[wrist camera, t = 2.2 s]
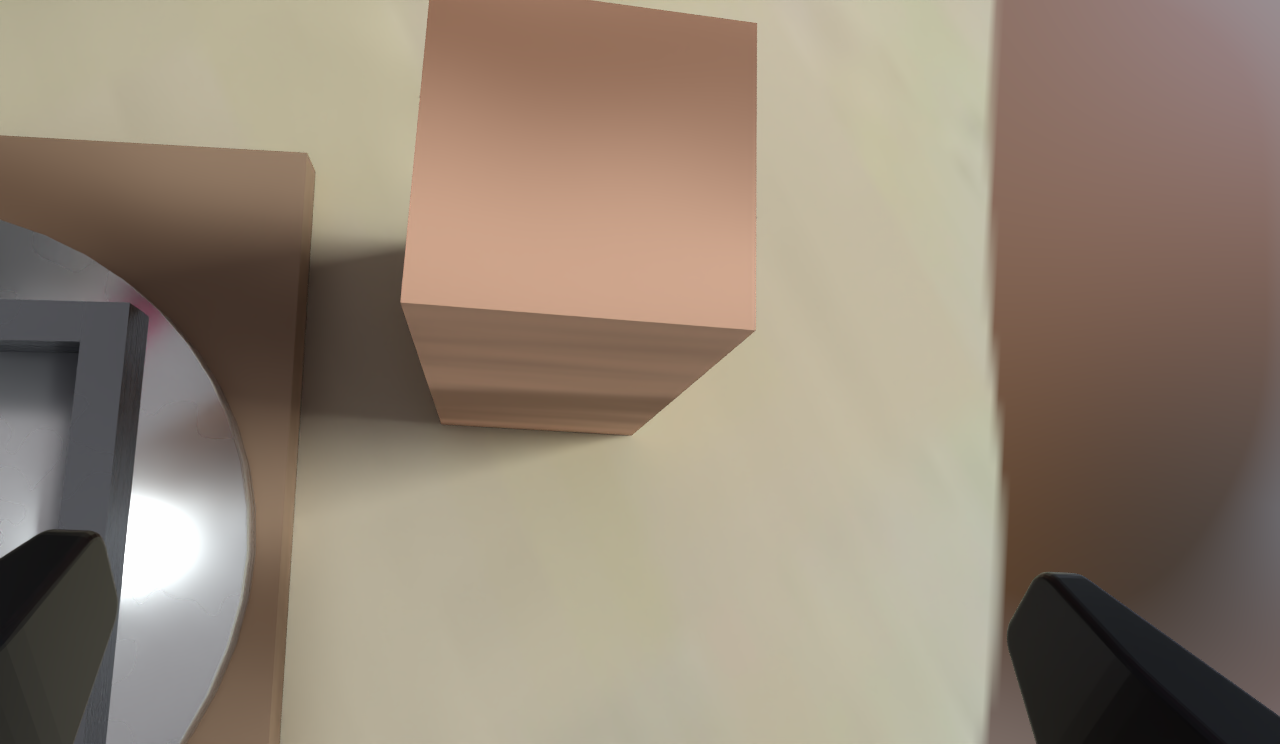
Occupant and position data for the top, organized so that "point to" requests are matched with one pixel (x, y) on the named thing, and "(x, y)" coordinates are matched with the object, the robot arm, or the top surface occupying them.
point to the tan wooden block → (579, 210)
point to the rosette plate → (125, 479)
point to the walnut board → (204, 328)
